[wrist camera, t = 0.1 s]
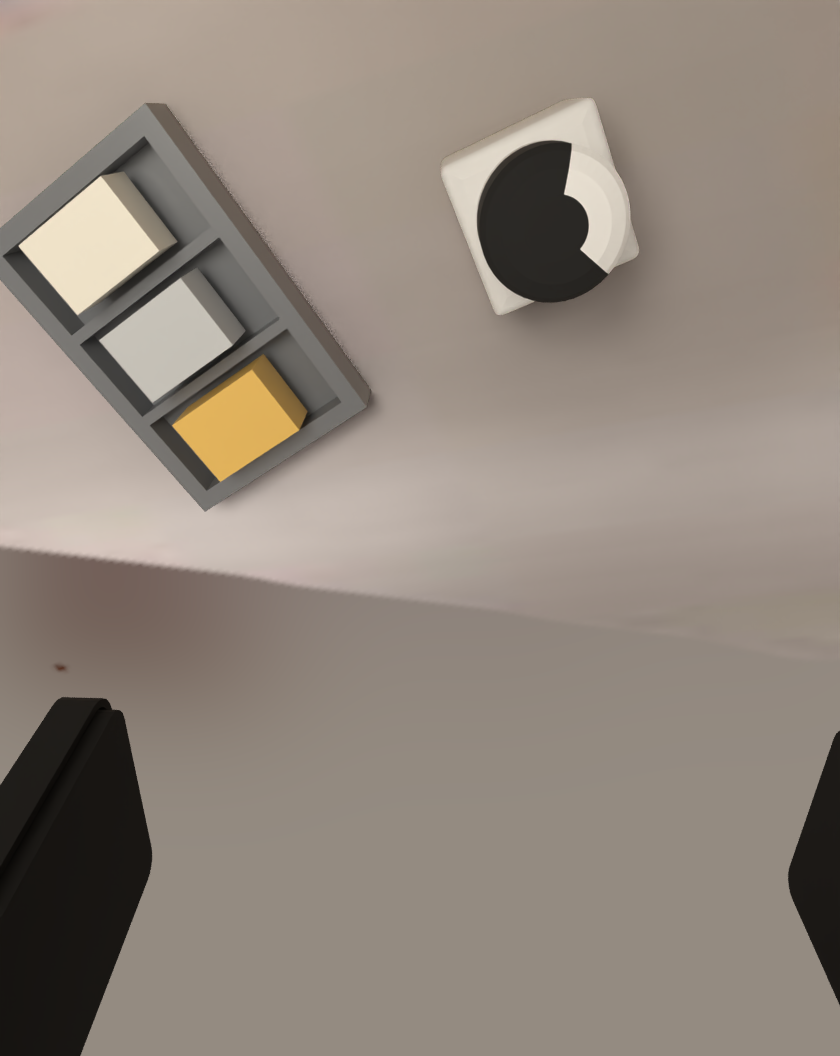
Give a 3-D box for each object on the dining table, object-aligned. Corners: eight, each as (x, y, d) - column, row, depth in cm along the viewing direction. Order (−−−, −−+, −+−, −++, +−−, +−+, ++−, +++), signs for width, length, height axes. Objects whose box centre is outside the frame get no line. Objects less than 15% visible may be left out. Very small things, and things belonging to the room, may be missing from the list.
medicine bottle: (489, 289, 44) (504, 347, 33) (438, 160, 41) (437, 177, 30) (613, 235, 42) (670, 276, 32) (569, 96, 39) (617, 91, 29)
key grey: (120, 326, 43) (99, 340, 40) (197, 267, 41) (180, 278, 39) (169, 385, 44) (152, 402, 42) (245, 330, 43) (232, 345, 40)
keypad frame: (3, 242, 43) (-26, 250, 40) (164, 103, 40) (145, 103, 37) (217, 490, 50) (205, 511, 47) (371, 390, 47) (366, 407, 44)
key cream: (45, 237, 41) (18, 245, 38) (123, 171, 39) (100, 175, 37) (100, 302, 42) (77, 315, 40) (177, 241, 41) (159, 250, 38)
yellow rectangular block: (187, 406, 45) (172, 425, 42) (263, 353, 43) (251, 369, 41) (232, 460, 46) (220, 482, 44) (307, 411, 45) (299, 430, 42)
